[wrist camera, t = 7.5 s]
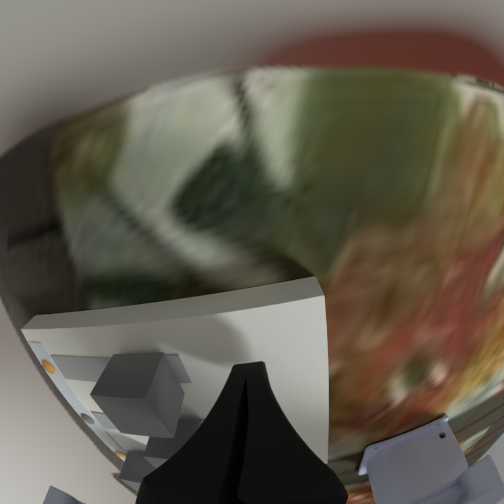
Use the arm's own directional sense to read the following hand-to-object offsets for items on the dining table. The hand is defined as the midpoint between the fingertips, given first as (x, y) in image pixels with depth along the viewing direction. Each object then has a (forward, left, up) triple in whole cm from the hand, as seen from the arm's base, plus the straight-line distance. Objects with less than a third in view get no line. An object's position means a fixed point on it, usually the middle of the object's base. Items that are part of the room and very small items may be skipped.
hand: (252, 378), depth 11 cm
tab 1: (+11, +11, -1) cm, 15 cm away
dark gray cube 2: (+5, +5, -1) cm, 8 cm away
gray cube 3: (+5, 0, -1) cm, 5 cm away
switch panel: (+6, +6, -3) cm, 8 cm away
